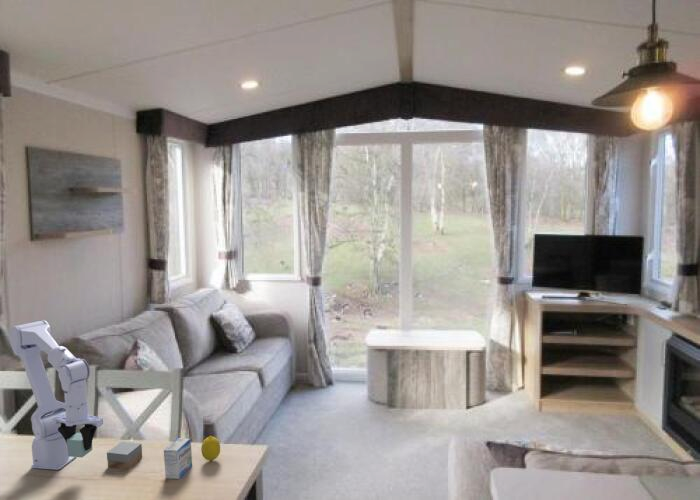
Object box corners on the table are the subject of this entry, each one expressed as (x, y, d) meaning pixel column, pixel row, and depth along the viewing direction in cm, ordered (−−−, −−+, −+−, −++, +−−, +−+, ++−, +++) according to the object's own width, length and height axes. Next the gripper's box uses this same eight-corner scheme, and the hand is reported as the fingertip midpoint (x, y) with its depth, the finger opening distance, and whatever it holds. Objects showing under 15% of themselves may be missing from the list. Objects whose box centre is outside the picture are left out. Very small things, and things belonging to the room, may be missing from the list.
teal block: (68, 456, 150) (66, 439, 150) (78, 448, 155) (77, 432, 154) (82, 457, 150) (81, 440, 149) (92, 449, 154) (91, 433, 153)
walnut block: (108, 469, 158) (107, 461, 158) (121, 457, 165) (121, 449, 164) (129, 470, 157) (129, 462, 156) (142, 458, 164) (141, 451, 163)
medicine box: (179, 479, 150) (177, 451, 149) (164, 478, 151) (163, 449, 150) (192, 465, 158) (191, 438, 157) (179, 464, 159) (177, 437, 158)
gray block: (107, 460, 158) (106, 452, 158) (122, 449, 165) (121, 441, 164) (127, 462, 156) (127, 454, 156) (142, 451, 163) (141, 443, 163)
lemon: (198, 464, 159) (196, 438, 158) (209, 455, 164) (208, 430, 163) (213, 467, 157) (212, 441, 156) (224, 458, 162) (223, 433, 161)
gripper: (43, 407, 148) (47, 453, 149) (90, 410, 145) (94, 456, 147) (61, 397, 155) (64, 441, 156) (106, 400, 152) (109, 444, 154)
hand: (80, 448), depth 152 cm, fingers closed on teal block, 4 cm apart
